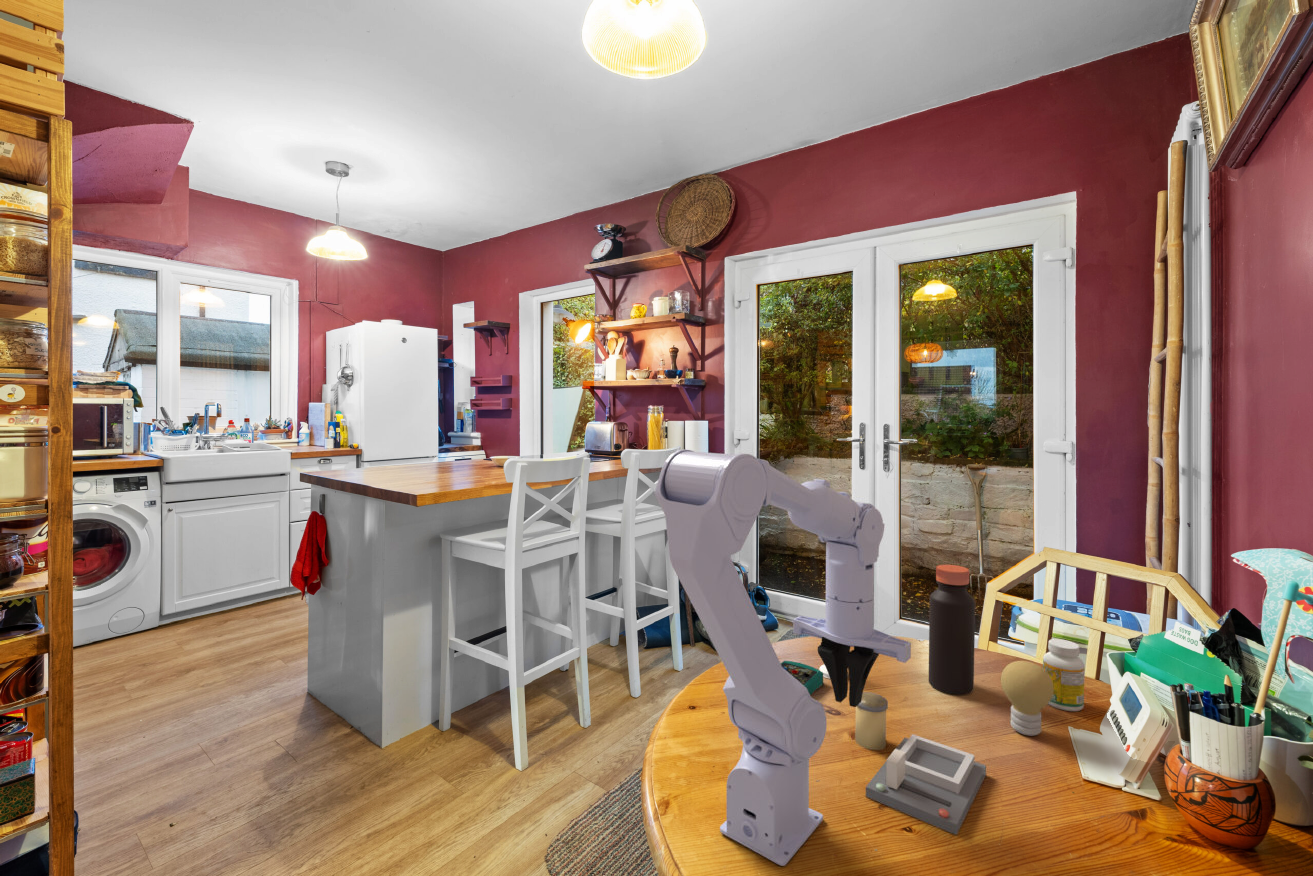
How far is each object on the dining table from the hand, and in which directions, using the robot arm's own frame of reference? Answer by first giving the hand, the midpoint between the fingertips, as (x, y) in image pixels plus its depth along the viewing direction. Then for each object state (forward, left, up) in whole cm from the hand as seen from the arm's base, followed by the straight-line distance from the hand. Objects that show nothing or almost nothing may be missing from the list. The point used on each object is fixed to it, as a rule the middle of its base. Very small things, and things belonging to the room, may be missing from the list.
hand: (848, 701), depth 75 cm
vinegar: (+34, -3, -10) cm, 36 cm away
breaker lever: (0, -6, -8) cm, 10 cm away
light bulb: (+26, -15, -10) cm, 32 cm away
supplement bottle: (+39, -18, -10) cm, 44 cm away
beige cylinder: (+9, +1, -9) cm, 13 cm away
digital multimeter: (+14, +17, -10) cm, 24 cm away
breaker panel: (+4, -8, -9) cm, 13 cm away
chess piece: (+26, +14, -10) cm, 31 cm away
